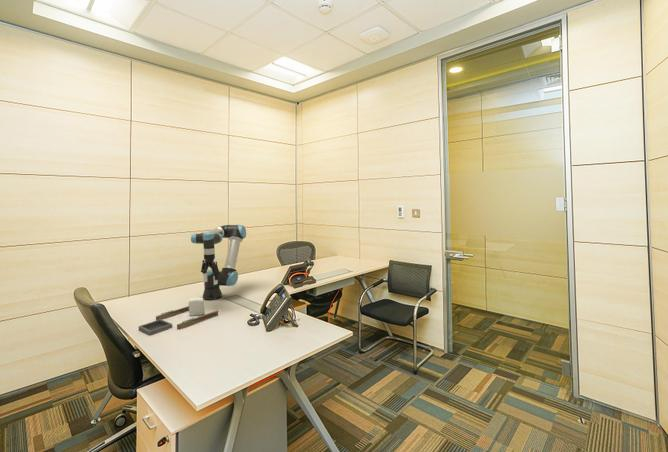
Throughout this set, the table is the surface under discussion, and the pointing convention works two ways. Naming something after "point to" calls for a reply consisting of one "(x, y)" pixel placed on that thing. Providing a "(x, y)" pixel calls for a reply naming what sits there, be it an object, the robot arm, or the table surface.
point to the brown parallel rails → (189, 321)
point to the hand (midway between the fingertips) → (210, 283)
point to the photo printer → (196, 306)
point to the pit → (155, 327)
